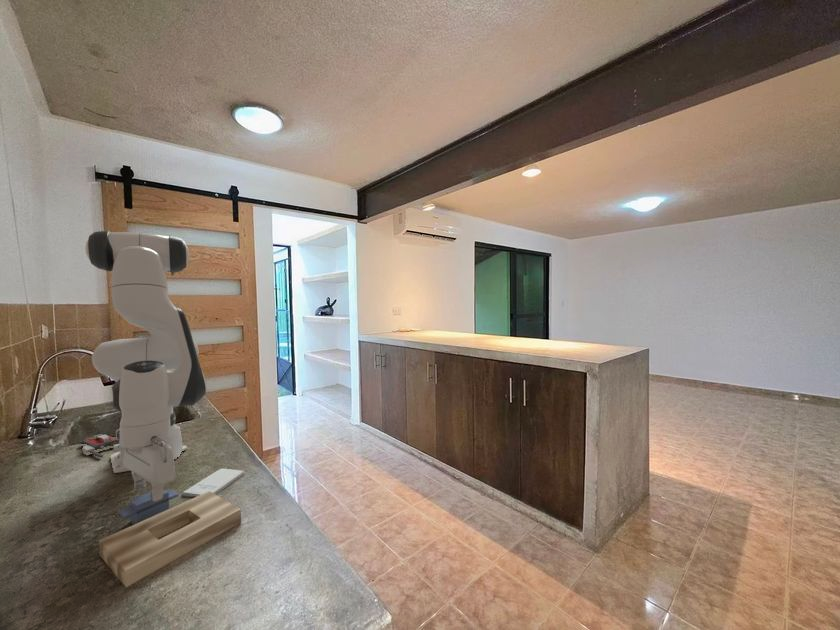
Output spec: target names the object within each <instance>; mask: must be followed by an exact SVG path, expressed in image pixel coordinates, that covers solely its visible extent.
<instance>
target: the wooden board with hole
mask: <svg viewBox="0 0 840 630" xmlns="http://www.w3.org/2000/svg"><path fill="white" fill-rule="evenodd" d="M241 523H242V509H241V508H239V507H237V506H236V505H235V504H232V503H231V502H229V501H228V500H226V499H224V498H222V497H221V496H219V495H217V494H214V493H212V492H210V491H208V492H206V493H204V494H201V495H199V496H197V497H191V499H188V500H185V501H184V502H182V503H180V504H177V505H174V506H173V507H169V509H168V510H166V511H164V512H161V513H159V514H157V515H155V516H152V517H150V518H148V519H146V520H144V521H141V522H139V523H137V524H135V525H134V524H132V525H131V526H128V527H126V528H123V529H121V530H119V531H117V532H115V533H113V534H110V535H108V536H106V537H104V538H102V539H100V540H99V541H98V544H99V556H100V558H101V559H102V560H103V562H104V563H105V564H106V565H107V566H108V567H109V569H110V570H111V571H112V572H113V574H114V575H115V576H116V578H117V579H118V580H119V581H120V582H121V583H122V585H123V586H124V587H125V588H128V587H130V586H132V585H133V584H135V583H137V582H138V581H141V580H142V579H144V578H146V577H148V576H149V575H151V574H154V572H156V571H159V570H160V569H162V568H163V567H165V566H166V565H168V564H170V563H172V562H174V561H175V560H178V559H180V557H183V556H184V555H186V554H188V553H190V552H191V551H193V550H195V549H197V548H199V547H200V546H202V545H204V544H206V543H207V542H210V541H211V540H213V539H214V538H216V537H218V536H220V535H221V534H224V533H225V532H227V531H228V530H230V529H232V528H233V527H235V526H238V525H240V524H241Z"/></svg>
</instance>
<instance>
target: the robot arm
mask: <svg viewBox="0 0 840 630" xmlns="http://www.w3.org/2000/svg"><path fill="white" fill-rule="evenodd" d="M85 253H86V256H87V259H88V260H89V261H90V264H91V265H93V266H94V267H96V268H97V269H98V270H103V271H106V272H111V280H110V281H111V283H110V287H111V288H110V289H111V290H110V291H111V300H112V306H113V309H114V311H115V312H116V313H117V314H118V315H120V317H122V318H123V319H124V320H125V321H126V322H127V323H128V324H129V325H132V326H134V327H137V328H140V329H143V330H145V331H146V332H148V333H149V335H150V336H148V337H135V338H120V339H113V340H109V341H104V342H101V343H100V344H98V345H97V346H96V347H95V348H94V350H93V352H92V356H91V362H92V365H93V368H94V369H95V370H96V371H97V372H98V373H100V374H101V375H102V376H103V375H104V376H105V377H108V378H110V379H111V380H113V382H115V383H113V385H112V386H111V390H112V409H115V411H118V412H119V413H121V419H120V421H119V428H118V429H116V430H115V438H116V439H118V440H119V444H116V445H113V449H112V451H113V453H112V454H111V455H109V459H110V458H111V461H110V463H112V465H111V469H112V468H113V469H112V472H113V473H114V474H118V473H124V472H131V476H132V479H133V483H134V485H133V486H134V489H136V490H142V489H144V488H146V486H147V482H148V483H149V484H150V486H151V488H152V489H151V491H152V492H151V491H149V492H150V495H151V500H153V501H158V500H160V499H162V498H163V489H164V488H165V486H166V484H169V483H170V482H173V481H174V479H175V477H176V468H175V467H176V466H175V465H176V464H175V460H176V459H178V458H179V457H180V456H181V455H182V453H183V452H182V451H184V450H185V449H186V448H187V449H188V446H187V445H184V444H183V441H182V440H183V439H182V432H181V427H180V426H179V425H177V424H176V413H175V411H174V407H185V406H194V405H196V404H197V403H198V402H200V401H201V400H202V399H203V398H204V397H205V396H206V392H207V386H208V385H207V380H206V377H205V375H204V372H203V370H202V367H201V364H200V362H199V355H200V349H199V345H198V344H197V342H196V341H195V340H194V339H193V335H192V331H191V328H190V324H189V323H188V318H187V316H186V313H185V312H184V310H182V309H181V308H179V307H177V306H175V305H174V303H173V302H172V301H171V299H170V295H169V286H168V280H167V275H166V274H167V273H166V272H168V273H170V274H171V276H174V274H176V273H180V272H182V271H183V270H185V269H186V268H187V265H188V264H189V261H190V257H191V256H190V255H191V254H190V250H189V247H188V246H187V244H186V241H185V240H184V239H183V238H182V237H181V238H180V237H178V236H174V235H168V236H167V235H163V234H156V233H150V232H141V231H140V232H134V231H133V232H132V231H131V232H129V231H123V232H122V231H112V232H111V231H110V230H102V231H101V230H100V231H94V232H92V233H91V234H89V236H88V239H87V241H86V243H85ZM185 451H186V450H185ZM185 451H184V452H185ZM181 452H182V453H181ZM180 454H181V455H180ZM177 457H178V458H177ZM174 459H175V460H174ZM164 490H165V489H164Z"/></svg>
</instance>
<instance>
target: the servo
mask: <svg viewBox="0 0 840 630" xmlns="http://www.w3.org/2000/svg"><path fill="white" fill-rule="evenodd" d="M150 492H152V490H151V491H149V492H147V493H144V494H142V495H139V496H136V497H134V498H132V499H129V505H127V506H126V507H123V508H121V509H119V510H118V511H117V514H119V515H120V516H121V517H122V518H123V520H127V519H128V518H129V522H130V523H131V524H132V525H135V524H137V523H139V522H141V521H144V520H146V519H148V518H150V517H152V516H155V515H157V514H159V513H161V512H164V511H166V510H168V509H170V500H173V499H175V498H178V497H179V495H180V494H179V492H177V491H175V490H173V489H172V488H170V489H167V490H166V489H163V498H162V499H160V500H158V501H153V500H151V495H150Z"/></svg>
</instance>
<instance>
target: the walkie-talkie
mask: <svg viewBox="0 0 840 630" xmlns="http://www.w3.org/2000/svg"><path fill="white" fill-rule="evenodd" d="M118 443H119V440H118V439H117V438H116V437H113V436H111V435H108V434H104V433H103V434H102V433H100V434H96V435H93V436H91V437H86V438H84V439H83V440H81V442H80V443H79V445H80V444H87V445H85V446H84V447H83V448H82V447H81V451H82V450H84V451H85V452H86V453H87V452H90V453H92V454H93V455H92V456H94V455H95V456H94V457H96V456H97V457H98V458H101V457H102V458H103V457H104V455H103V454H101V453H97V452H95V451H94V450H97V449H103V448H104V447H107V446H113V445H116V444H118ZM97 457H96V458H97Z"/></svg>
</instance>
